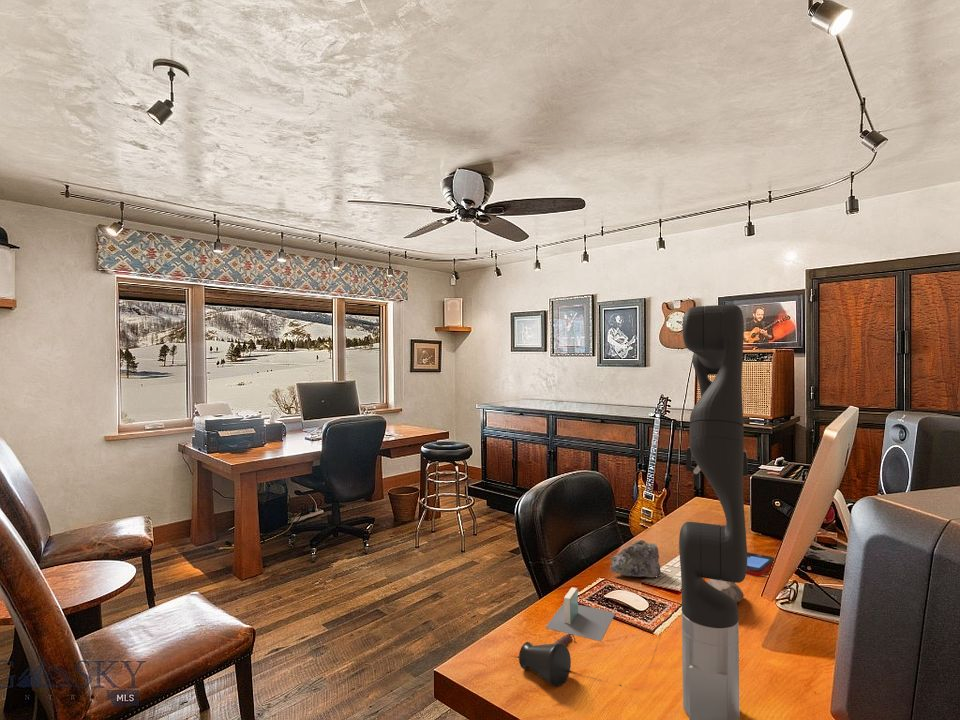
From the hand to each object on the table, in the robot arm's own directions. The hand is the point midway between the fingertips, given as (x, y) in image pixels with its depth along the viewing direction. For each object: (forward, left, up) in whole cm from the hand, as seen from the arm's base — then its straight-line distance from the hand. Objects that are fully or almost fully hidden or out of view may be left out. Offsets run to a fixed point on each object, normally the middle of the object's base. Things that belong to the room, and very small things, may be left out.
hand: (716, 489), depth 132 cm
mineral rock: (+9, +22, -29) cm, 37 cm away
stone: (-1, -1, -29) cm, 29 cm away
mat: (-24, +28, -29) cm, 47 cm away
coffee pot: (-42, +28, -29) cm, 58 cm away
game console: (+30, -6, -30) cm, 42 cm away
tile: (-24, +31, -28) cm, 48 cm away
